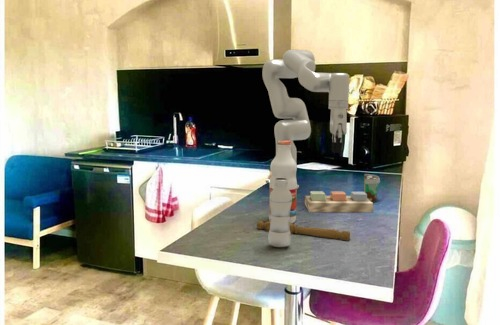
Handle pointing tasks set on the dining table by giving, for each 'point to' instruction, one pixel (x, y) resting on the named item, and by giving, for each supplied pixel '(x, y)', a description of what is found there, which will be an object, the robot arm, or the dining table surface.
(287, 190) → the plastic bottle
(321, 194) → the sage button
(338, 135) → the robot arm
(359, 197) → the slate button
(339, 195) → the terracotta button
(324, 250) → the dining table surface
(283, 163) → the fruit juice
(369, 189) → the food container
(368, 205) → the button panel
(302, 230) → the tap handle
